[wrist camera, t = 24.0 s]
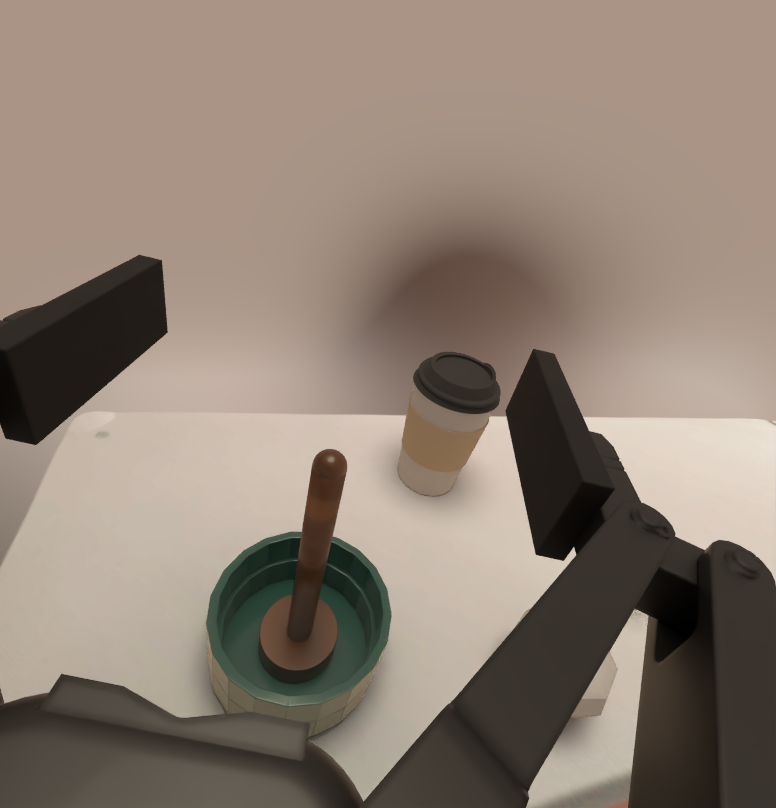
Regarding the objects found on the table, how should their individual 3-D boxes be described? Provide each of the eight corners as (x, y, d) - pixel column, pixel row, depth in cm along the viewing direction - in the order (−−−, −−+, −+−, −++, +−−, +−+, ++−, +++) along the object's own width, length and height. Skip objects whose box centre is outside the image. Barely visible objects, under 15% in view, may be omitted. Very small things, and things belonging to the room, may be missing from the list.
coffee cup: (394, 502, 48) (431, 388, 40) (382, 445, 55) (411, 338, 47) (472, 504, 50) (522, 396, 42) (451, 449, 57) (490, 347, 49)
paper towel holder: (255, 687, 31) (272, 494, 20) (260, 608, 35) (276, 416, 24) (337, 680, 32) (394, 496, 21) (331, 605, 36) (377, 422, 26)
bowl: (195, 755, 28) (191, 716, 24) (221, 577, 37) (220, 531, 34) (385, 733, 31) (405, 695, 27) (364, 573, 40) (377, 531, 37)
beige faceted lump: (535, 764, 31) (577, 727, 27) (470, 654, 36) (498, 611, 33) (608, 713, 35) (654, 675, 31) (540, 621, 40) (572, 578, 37)
